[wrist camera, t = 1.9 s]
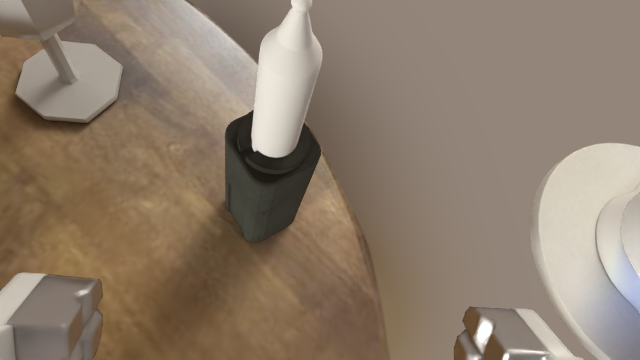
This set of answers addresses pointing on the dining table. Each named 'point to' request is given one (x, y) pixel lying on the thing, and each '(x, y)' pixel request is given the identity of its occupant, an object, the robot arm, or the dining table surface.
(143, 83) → the dining table surface
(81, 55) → the wineglass
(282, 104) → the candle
